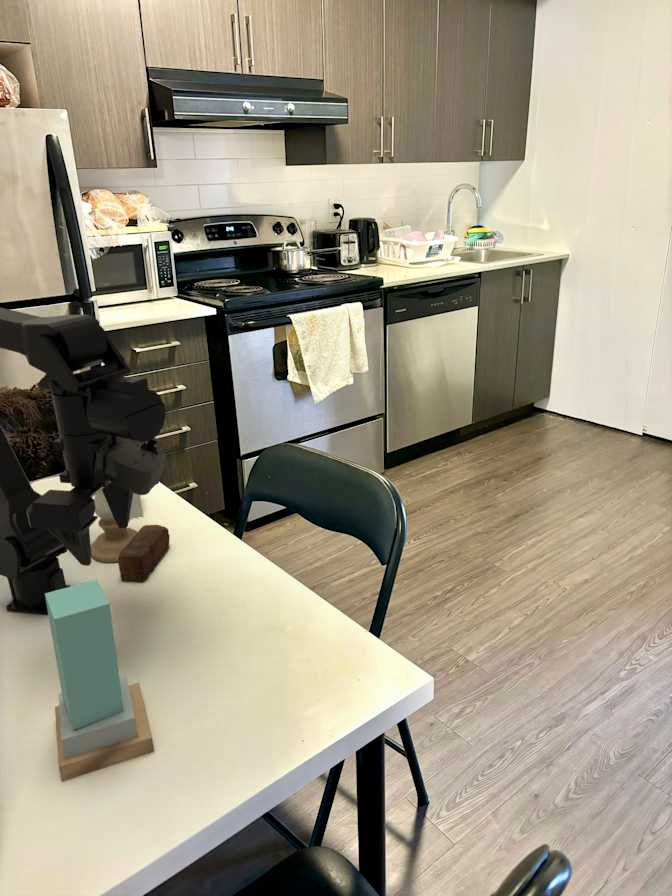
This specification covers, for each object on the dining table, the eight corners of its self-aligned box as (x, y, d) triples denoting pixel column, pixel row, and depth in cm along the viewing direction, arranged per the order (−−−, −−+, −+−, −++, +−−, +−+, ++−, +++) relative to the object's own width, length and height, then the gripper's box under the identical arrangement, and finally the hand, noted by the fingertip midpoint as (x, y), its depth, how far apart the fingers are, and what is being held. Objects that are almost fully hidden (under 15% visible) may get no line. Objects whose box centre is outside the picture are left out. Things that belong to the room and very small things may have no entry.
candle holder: (100, 536, 113) (80, 422, 105) (152, 535, 113) (136, 420, 105) (82, 564, 105) (58, 442, 97) (138, 562, 105) (119, 440, 97)
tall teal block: (63, 699, 71) (44, 593, 66) (111, 682, 73) (96, 579, 69) (73, 730, 67) (54, 619, 62) (123, 711, 69) (109, 603, 65)
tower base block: (63, 786, 67) (58, 767, 66) (59, 724, 75) (54, 706, 74) (155, 755, 70) (152, 737, 69) (142, 699, 78) (139, 682, 77)
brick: (146, 584, 99) (142, 556, 98) (120, 582, 100) (116, 555, 98) (171, 547, 109) (168, 522, 107) (148, 546, 110) (144, 521, 108)
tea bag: (121, 520, 118) (112, 468, 114) (120, 504, 124) (112, 454, 120) (142, 517, 119) (135, 465, 115) (141, 501, 125) (133, 451, 121)
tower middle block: (65, 759, 67) (61, 740, 66) (62, 712, 73) (58, 694, 72) (138, 736, 69) (134, 717, 69) (129, 693, 75) (126, 675, 75)
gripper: (109, 462, 68) (130, 593, 74) (182, 404, 85) (195, 514, 91) (10, 457, 70) (39, 585, 76) (101, 401, 87) (119, 509, 93)
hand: (105, 545), depth 84 cm, fingers open, 9 cm apart
